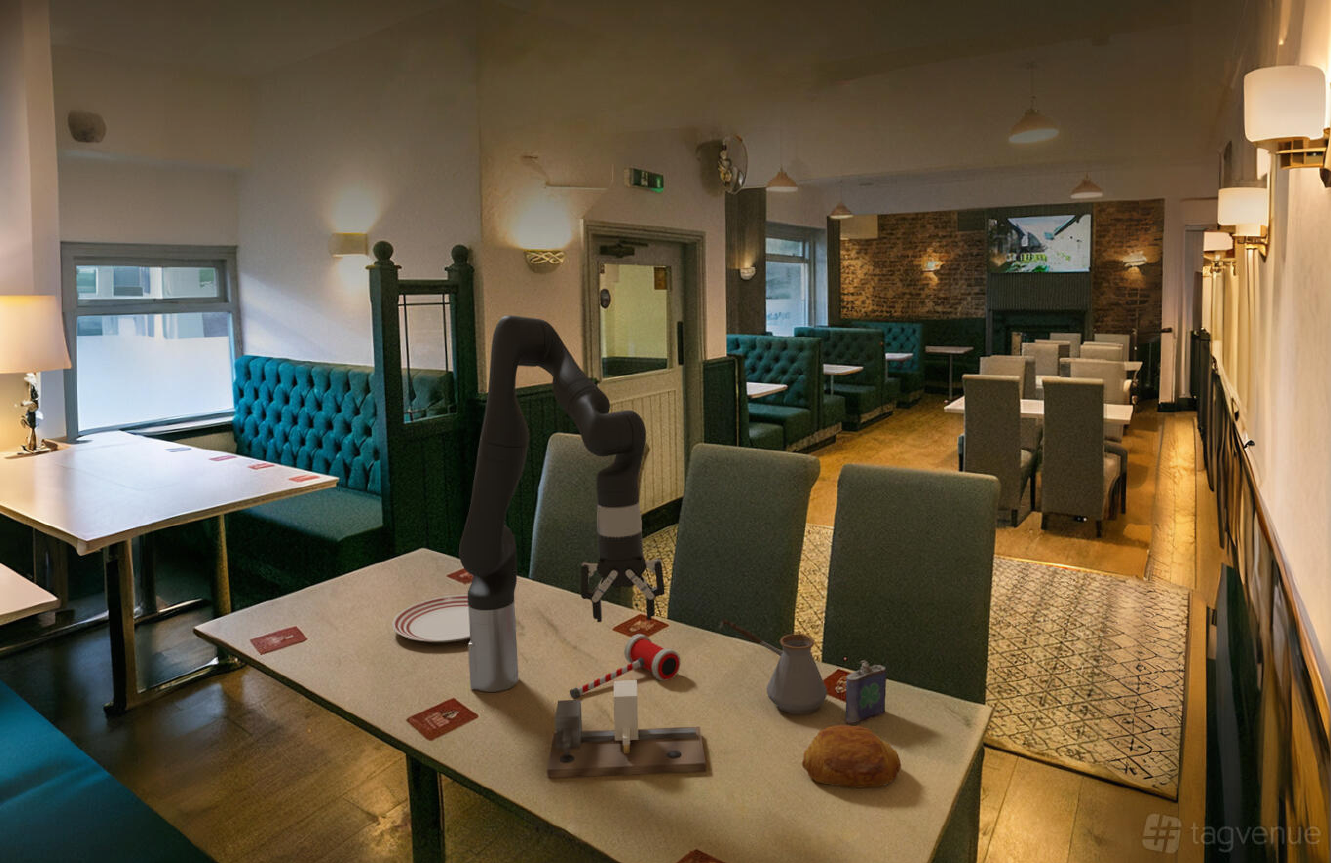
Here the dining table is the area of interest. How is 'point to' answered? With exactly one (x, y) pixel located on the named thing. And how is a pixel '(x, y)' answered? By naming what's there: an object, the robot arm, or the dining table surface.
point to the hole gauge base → (620, 749)
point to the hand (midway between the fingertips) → (624, 619)
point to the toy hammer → (640, 663)
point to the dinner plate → (435, 620)
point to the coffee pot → (792, 673)
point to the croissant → (850, 758)
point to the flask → (865, 693)
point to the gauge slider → (625, 712)
